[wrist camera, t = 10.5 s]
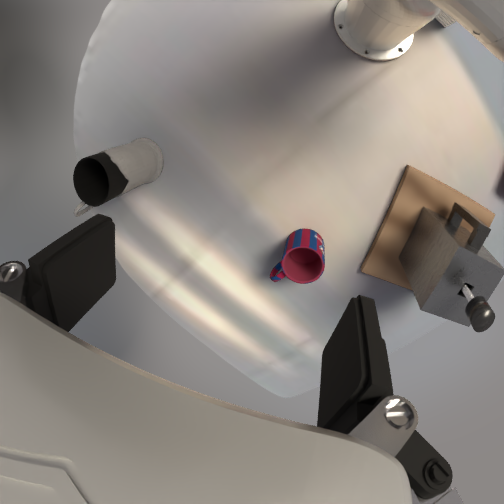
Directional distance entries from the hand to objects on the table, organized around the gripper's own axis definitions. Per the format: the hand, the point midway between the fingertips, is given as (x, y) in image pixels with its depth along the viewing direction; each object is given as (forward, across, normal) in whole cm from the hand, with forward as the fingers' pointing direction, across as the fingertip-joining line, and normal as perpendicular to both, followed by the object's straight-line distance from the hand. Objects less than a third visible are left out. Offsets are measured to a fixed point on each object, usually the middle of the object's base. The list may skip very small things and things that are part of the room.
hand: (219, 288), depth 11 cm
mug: (+38, -5, +17) cm, 42 cm away
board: (+38, -28, +7) cm, 48 cm away
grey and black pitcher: (+38, +28, +10) cm, 49 cm away
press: (+37, -28, +5) cm, 46 cm away
